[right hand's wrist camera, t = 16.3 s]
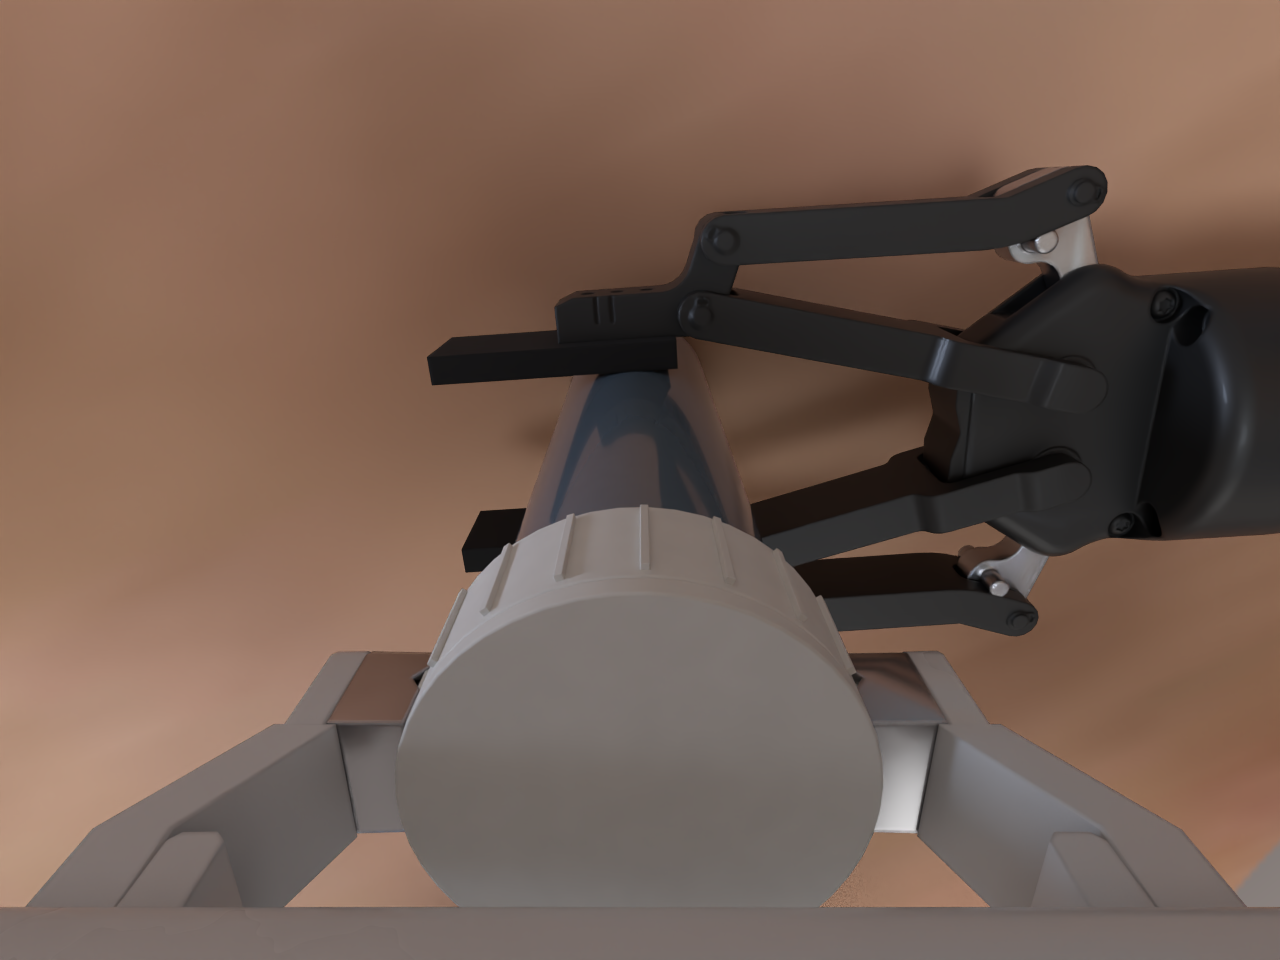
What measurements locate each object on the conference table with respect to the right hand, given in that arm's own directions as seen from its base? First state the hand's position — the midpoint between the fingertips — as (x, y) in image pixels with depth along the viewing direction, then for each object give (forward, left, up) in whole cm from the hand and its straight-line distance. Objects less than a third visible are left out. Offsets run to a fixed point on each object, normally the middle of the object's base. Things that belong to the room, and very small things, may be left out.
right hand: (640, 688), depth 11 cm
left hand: (-4, -3, -11) cm, 12 cm away
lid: (0, 0, +2) cm, 2 cm away
